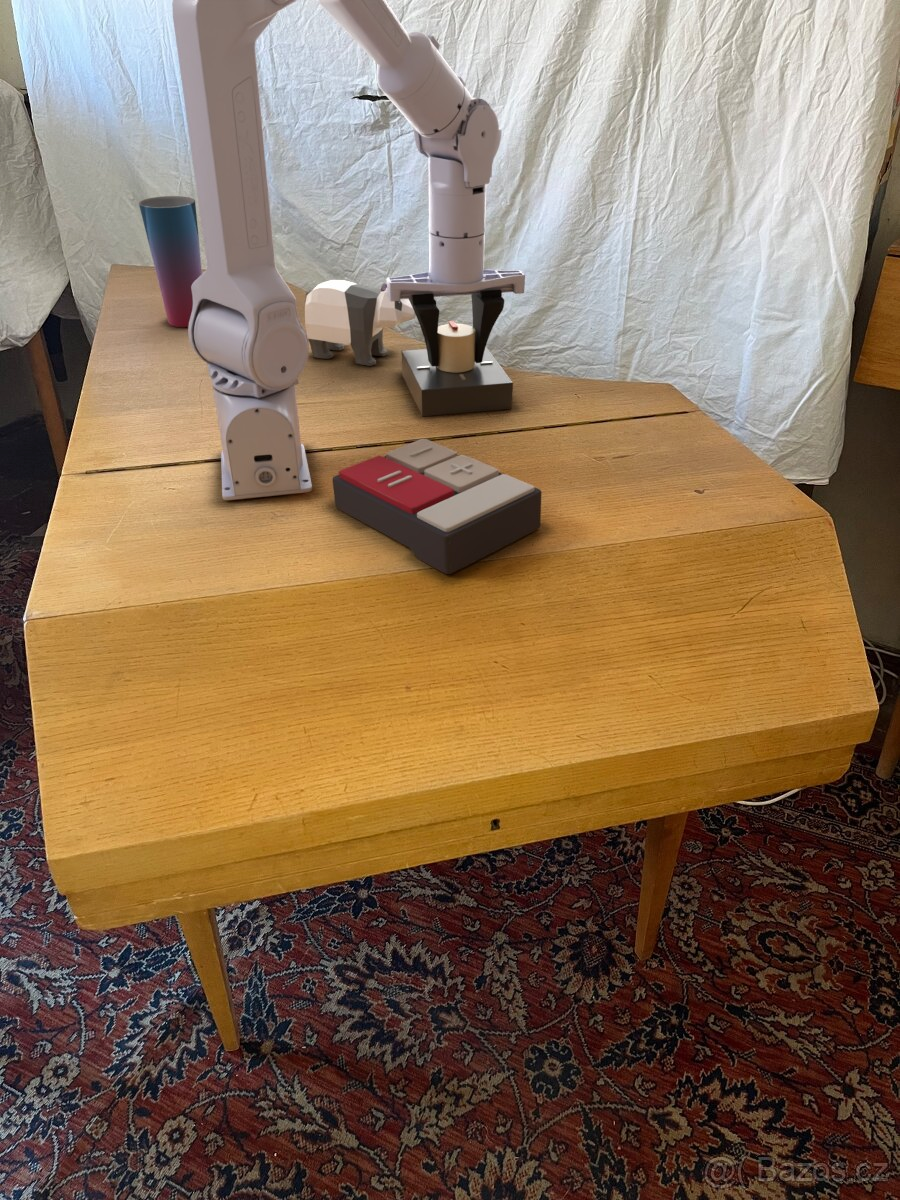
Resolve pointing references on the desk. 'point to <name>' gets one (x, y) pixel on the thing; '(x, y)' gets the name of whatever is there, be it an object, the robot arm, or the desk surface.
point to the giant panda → (351, 319)
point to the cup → (174, 252)
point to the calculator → (439, 503)
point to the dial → (456, 347)
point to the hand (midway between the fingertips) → (455, 361)
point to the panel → (456, 385)
